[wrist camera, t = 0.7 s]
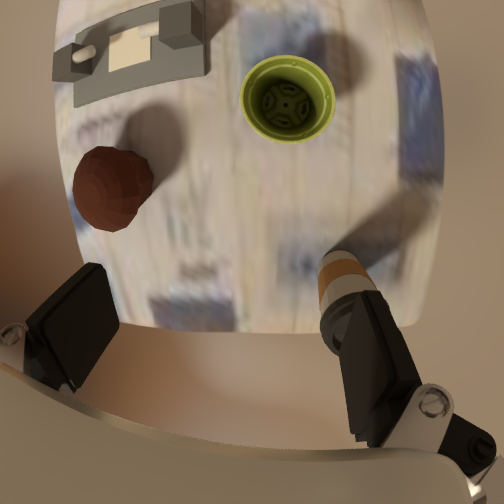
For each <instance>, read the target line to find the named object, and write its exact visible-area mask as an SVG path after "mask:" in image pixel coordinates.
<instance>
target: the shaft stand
mask: <svg viewBox="0 0 504 504" xmlns="http://www.w3.org/2000/svg"><path fill="white" fill-rule="evenodd" d="M200 76H206V62H205V20H204V0H163V1H159V2H156V3H152V4H149V5H146V6H143V7H140V8H137V9H134V10H131V11H128V12H125V13H123V14H120V15H118V16H115V17H113V18H110V19H108V20H105V21H103V22H101V23H99V24H96V25H94V26H92V27H90V28H88V29H86V30H84V31H82V32H80V33H78V34H76V40H75V43H71V44H69V45H67V46H65V47H63V48H61V49H60V50H58V51H56V52H54V56H53V73H52V81H56V82H72V83H74V108H78V107H81V106H84V105H86V104H89V103H92V102H95V101H98V100H101V99H104V98H107V97H110V96H114V95H117V94H120V93H124V92H128V91H131V90H135V89H139V88H143V87H147V86H151V85H156V84H160V83H165V82H170V81H175V80H181V79H187V78H193V77H200Z"/></svg>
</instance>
